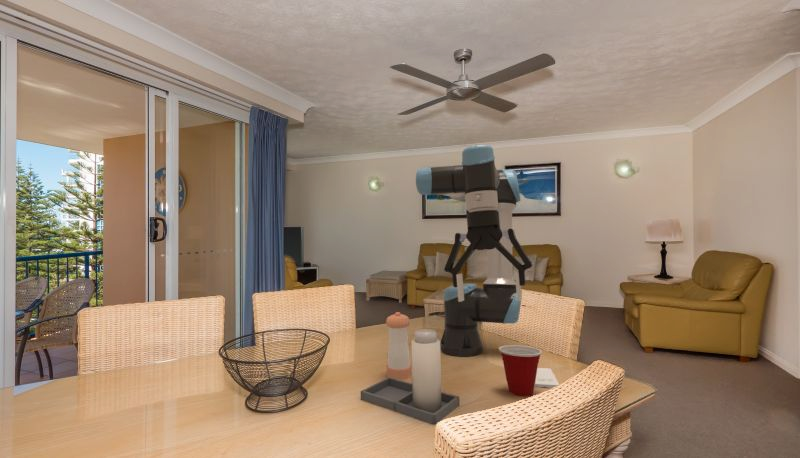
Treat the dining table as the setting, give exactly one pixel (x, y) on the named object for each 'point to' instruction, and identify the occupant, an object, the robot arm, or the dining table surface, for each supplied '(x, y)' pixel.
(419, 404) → the salt shaker
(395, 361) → the pepper shaker
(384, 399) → the shaker caddy
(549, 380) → the external hard drive
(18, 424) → the dining table surface
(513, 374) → the plastic cup
